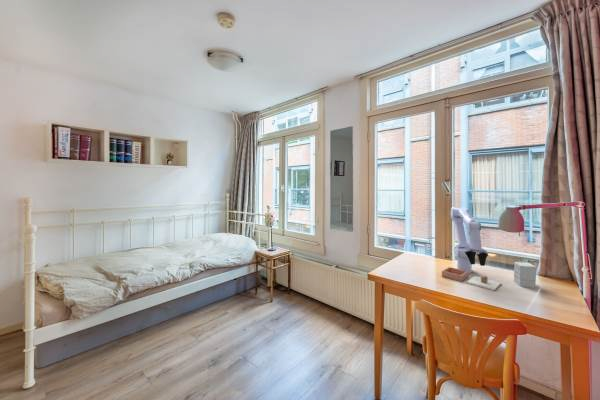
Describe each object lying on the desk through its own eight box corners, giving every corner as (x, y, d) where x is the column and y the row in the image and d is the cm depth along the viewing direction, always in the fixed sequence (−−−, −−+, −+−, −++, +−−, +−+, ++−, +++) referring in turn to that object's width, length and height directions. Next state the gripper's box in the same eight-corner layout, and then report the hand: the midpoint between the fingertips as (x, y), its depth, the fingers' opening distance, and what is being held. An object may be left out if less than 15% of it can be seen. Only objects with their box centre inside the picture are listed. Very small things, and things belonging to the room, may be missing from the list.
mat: (473, 277, 155) (474, 276, 155) (502, 285, 144) (502, 284, 144) (465, 284, 146) (465, 283, 146) (495, 292, 135) (495, 291, 135)
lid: (474, 277, 154) (474, 271, 154) (500, 284, 144) (501, 277, 143) (467, 283, 146) (467, 276, 145) (494, 290, 136) (494, 283, 135)
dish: (448, 272, 164) (448, 266, 163) (467, 277, 155) (468, 271, 155) (441, 277, 157) (441, 270, 156) (461, 282, 148) (461, 276, 148)
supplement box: (528, 283, 145) (529, 262, 144) (535, 288, 138) (537, 267, 137) (512, 282, 148) (514, 261, 147) (519, 287, 141) (520, 265, 140)
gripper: (472, 239, 142) (475, 263, 138) (490, 242, 146) (493, 266, 142) (461, 240, 148) (463, 263, 145) (479, 243, 153) (481, 266, 149)
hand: (477, 265), depth 144 cm, fingers open, 7 cm apart
